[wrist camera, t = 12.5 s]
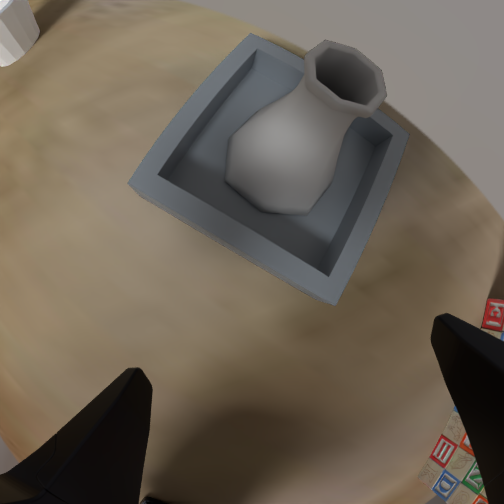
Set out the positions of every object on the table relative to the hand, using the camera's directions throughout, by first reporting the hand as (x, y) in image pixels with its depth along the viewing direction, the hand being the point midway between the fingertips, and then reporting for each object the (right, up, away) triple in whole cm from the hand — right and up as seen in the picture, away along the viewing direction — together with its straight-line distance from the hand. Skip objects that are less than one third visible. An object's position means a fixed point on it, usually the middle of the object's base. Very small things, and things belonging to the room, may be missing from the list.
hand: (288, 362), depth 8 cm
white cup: (-25, +24, +8) cm, 36 cm away
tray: (+1, +9, +11) cm, 14 cm away
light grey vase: (+1, +9, +11) cm, 14 cm away
